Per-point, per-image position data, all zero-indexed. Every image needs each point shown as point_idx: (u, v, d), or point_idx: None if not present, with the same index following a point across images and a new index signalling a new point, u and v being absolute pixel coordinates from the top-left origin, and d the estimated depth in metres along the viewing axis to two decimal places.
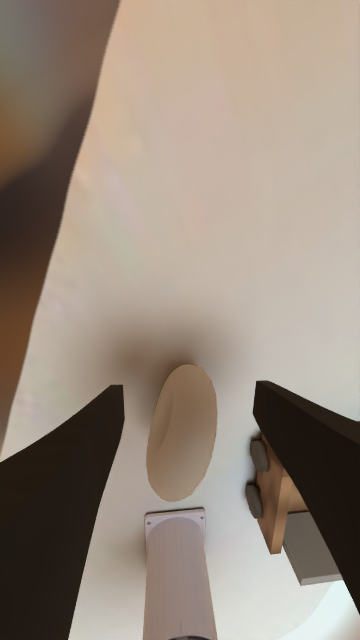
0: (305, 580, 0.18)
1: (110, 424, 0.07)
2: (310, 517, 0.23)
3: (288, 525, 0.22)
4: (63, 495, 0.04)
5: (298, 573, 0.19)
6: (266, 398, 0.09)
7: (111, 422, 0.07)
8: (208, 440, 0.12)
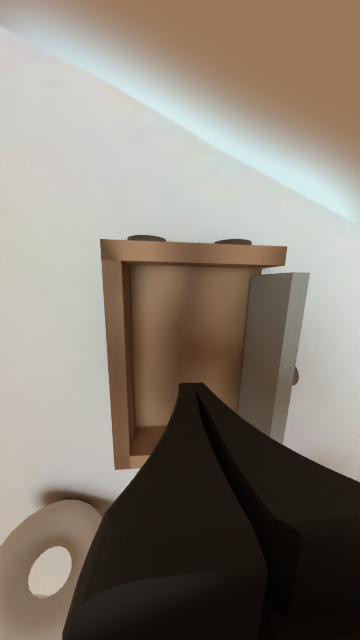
0: None
1: None
2: (243, 378, 0.16)
3: (243, 415, 0.16)
4: None
5: None
6: None
7: None
8: None
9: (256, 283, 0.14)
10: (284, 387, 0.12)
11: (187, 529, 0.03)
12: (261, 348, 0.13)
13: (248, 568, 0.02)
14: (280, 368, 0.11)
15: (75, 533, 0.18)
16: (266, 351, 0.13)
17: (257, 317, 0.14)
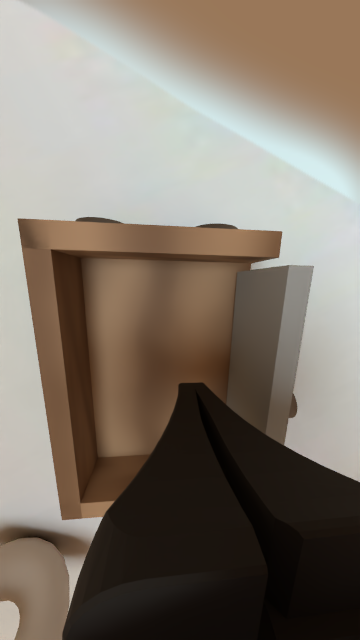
0: None
1: None
2: (229, 400, 0.13)
3: None
4: None
5: None
6: None
7: None
8: None
9: (243, 282, 0.11)
10: (277, 425, 0.08)
11: (187, 530, 0.03)
12: (248, 367, 0.10)
13: (248, 568, 0.02)
14: (271, 400, 0.08)
15: (26, 584, 0.15)
16: (254, 372, 0.09)
17: (244, 326, 0.11)
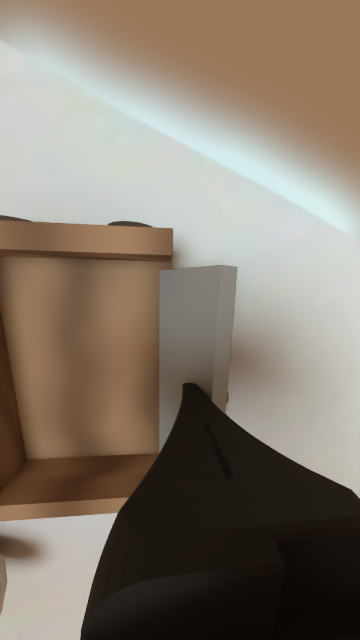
0: None
1: None
2: (162, 406, 0.12)
3: None
4: None
5: None
6: None
7: None
8: None
9: (168, 281, 0.10)
10: None
11: (202, 527, 0.03)
12: (183, 368, 0.10)
13: (265, 566, 0.02)
14: (213, 397, 0.08)
15: None
16: (191, 373, 0.09)
17: (173, 327, 0.10)
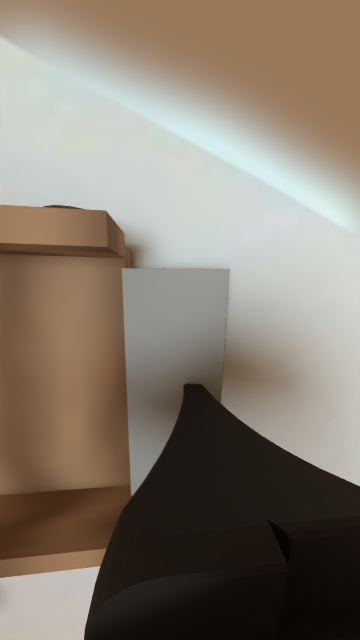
0: None
1: None
2: (137, 432, 0.10)
3: None
4: None
5: None
6: None
7: None
8: None
9: (144, 282, 0.09)
10: None
11: (205, 527, 0.03)
12: (177, 376, 0.09)
13: (269, 566, 0.02)
14: None
15: None
16: (190, 377, 0.09)
17: (157, 334, 0.09)
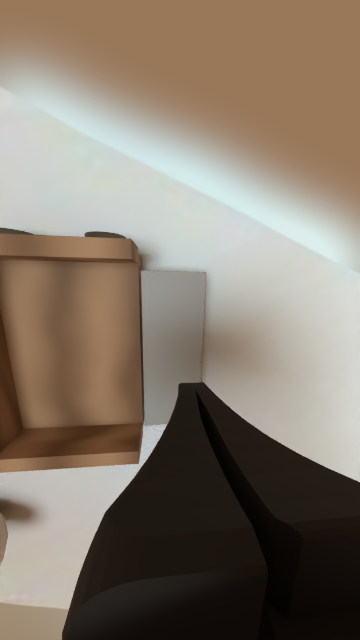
0: None
1: None
2: (150, 379, 0.16)
3: (156, 412, 0.16)
4: None
5: None
6: None
7: None
8: None
9: (155, 279, 0.14)
10: None
11: (187, 530, 0.03)
12: (176, 337, 0.15)
13: (248, 568, 0.02)
14: (202, 341, 0.15)
15: None
16: (184, 336, 0.15)
17: (164, 312, 0.15)
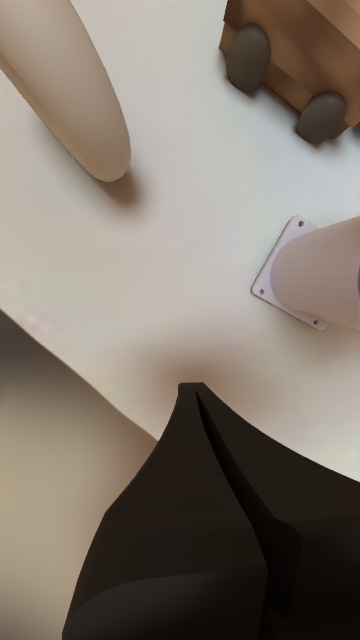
0: None
1: None
2: None
3: None
4: None
5: None
6: None
7: None
8: None
9: None
10: None
11: (187, 530, 0.03)
12: None
13: (248, 568, 0.02)
14: None
15: None
16: None
17: None
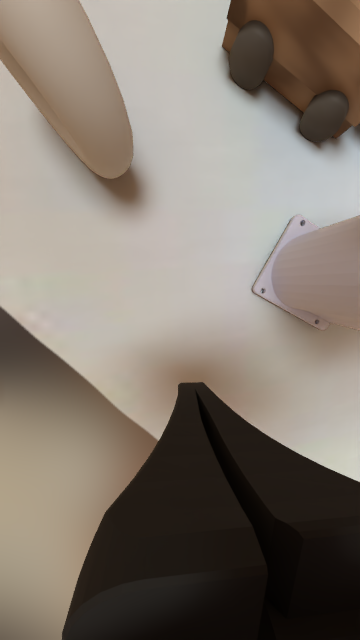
0: None
1: None
2: None
3: None
4: None
5: None
6: None
7: None
8: None
9: None
10: None
11: (187, 530, 0.03)
12: None
13: (248, 568, 0.02)
14: None
15: None
16: None
17: None
